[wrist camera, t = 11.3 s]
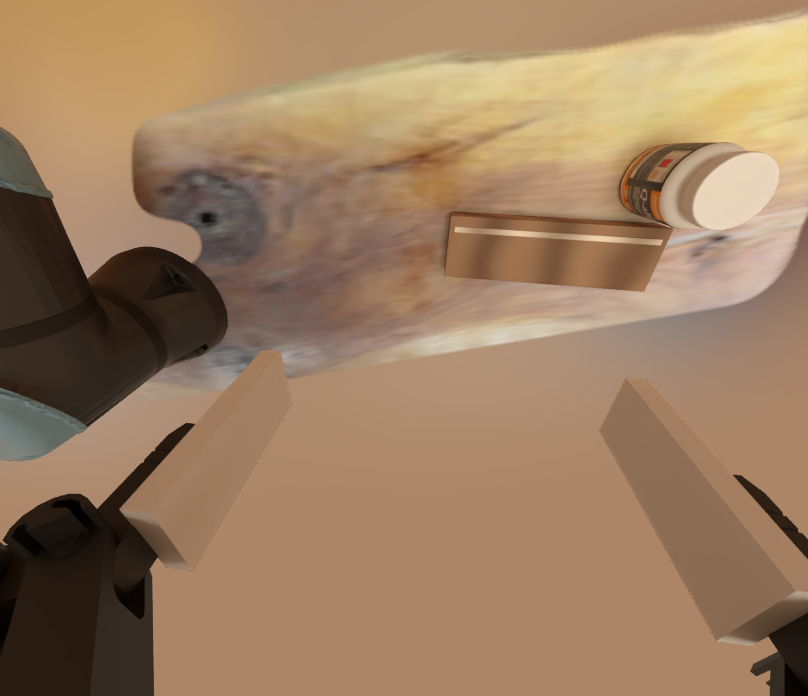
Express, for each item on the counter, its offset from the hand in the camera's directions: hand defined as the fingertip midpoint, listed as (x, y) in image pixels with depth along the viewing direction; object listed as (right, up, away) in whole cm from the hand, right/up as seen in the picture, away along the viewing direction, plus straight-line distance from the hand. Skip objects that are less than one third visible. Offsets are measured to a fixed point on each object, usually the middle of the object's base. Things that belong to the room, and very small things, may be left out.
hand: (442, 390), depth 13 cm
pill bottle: (+21, +17, +17) cm, 32 cm away
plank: (+13, +12, +21) cm, 27 cm away
